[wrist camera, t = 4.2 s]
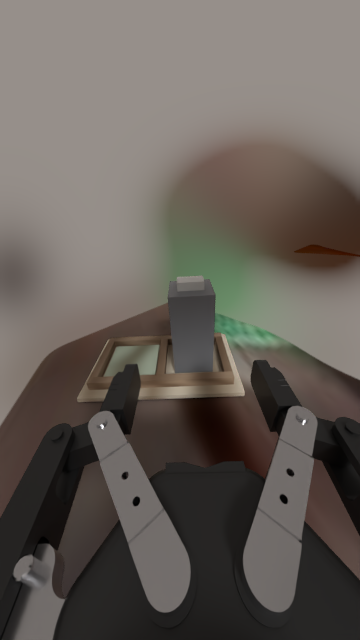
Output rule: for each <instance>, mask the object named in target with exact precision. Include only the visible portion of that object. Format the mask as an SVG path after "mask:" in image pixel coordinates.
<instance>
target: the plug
mask: <svg viewBox="0 0 360 640" xmlns="http://www.w3.org/2000/svg"><path fill="white" fill-rule="evenodd" d="M168 305H169V315H170V326H171V336H172V346H173V357H174V367H175V373H193V372H213V350H214V322H215V293H214V290H213V287H212V285H211V282H210V280H209V279H206V280H204V279H203V276H191V277H190V276H189V277H177V281H170V285H169V292H168Z"/></svg>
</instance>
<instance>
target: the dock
mask: <svg viewBox="0 0 360 640" xmlns="http://www.w3.org/2000/svg"><path fill="white" fill-rule="evenodd" d="M126 364H137V365H138V369H139V374H140V379H141V388H140V392H139V397H138V400H149V399H175V398H202V397H228V396H244V395H245V391H244V388H243V386H242V383H241V380H240V377H239V374H238V371H237V368H236V365H235V362H234V359H233V357H232V354H231V351H230V348H229V345H228V342H227V339H226V336H225V334H221V333H214V350H213V372H193V373H175V367H174V357H173V346H172V336H171V335H162V336H141V337H120V338H110V339H109V340H108V341H107V343H106V345H105V347H104V349H103V350H102V352H101V354H100V356H99V358H98V360H97V362H96V364H95V365H94V367H93V369H92V371H91V373H90V375H89V377H88V379H87V381H86V382H85V384H84V386H83V388H82V390H81V392H80V394H79V396H78V397H77V401H78V402H96V401H104V399H105V397H106V394H107V392H108V389H109V386H110V384H111V381H112V379H113V377H114V376H115V375H116V374H117V373H118V372H123V370H124V368H125V365H126Z"/></svg>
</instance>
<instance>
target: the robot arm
mask: <svg viewBox="0 0 360 640" xmlns="http://www.w3.org/2000/svg"><path fill="white" fill-rule="evenodd" d="M251 384H252V387H253V390H254V392H255V395H256V397H257V400H258V402H259V405H260V407H261V410H262V412H263V415H264V417H265V420H266V422H267V425H268V427H269V429H270V432H277V433H278V435H279V438H278V441H277V444H276V447H275V450H274V453H273V456H272V459H271V462H270V465H269V468H268V471H267V474H266V477H265V479H264V478H263V477H262V476H260V475H259V474H258V473H256V472H254V471H252V470H250V469H247V468H245V466H244V462H243V461H232V462H222V463H219V464H216V465H213V466H210V467H207V468H203V467H199V466H196V465H192V464H189V463H185V462H183V463H166V469H164V470H162V471H160V472H158V473H156V474H155V475H153V476H152V477H151V478H150V479H149V480H148V478H147V476H146V474H145V472H144V470H143V468H142V466H141V464H140V462H139V461H138V459H137V457H136V455H135V453H134V451H133V449H132V447H131V445H130V443H129V442H127V440H126V438H125V436H124V435H125V434H130V433H131V428H132V424H133V419H134V415H135V410H136V406H137V401H138V397H139V392H140V388H141V379H140V374H139V369H138V365H137V364H126V365H125V368H124V370H123V372H118V373H117V374H116V375H115V376H114V377H113V379H112V381H111V384H110V386H109V389H108V392H107V394H106V397H105V399H104V402H103V404H102V407H101V409H100V411H99V413H97V414H96V415H94V416H93V417H92V418H91V420H90V421H89V422H88V423H85V424H82V425H79V426H76V427H73V428H72V427H71V426H70V425H69V424H66V423H63V424H59V425H57V426H55V427H53V428H52V429H50V430H49V431H48V432H47V433H46V435H45V436H44V438H43V440H42V442H41V443H40V445H39V447H38V449H37V451H36V453H35V455H34V457H33V458H32V460H31V462H30V464H29V466H28V468H27V470H26V471H25V473H24V475H23V477H22V479H21V481H20V483H19V484H18V486H17V488H16V490H15V492H14V494H13V496H12V497H11V499H10V501H9V503H8V505H7V507H6V509H5V511H4V512H3V514H2V516H1V518H0V640H360V580H359V579H358V578H357V577H356V575H355V574H354V573H353V572H352V571H351V570H350V569H349V568H348V567H347V566H346V565H345V564H344V563H343V562H342V560H341V559H340V558H339V557H338V556H337V555H336V554H335V553H334V552H333V551H332V550H331V549H330V548H329V547H328V545H327V544H326V543H325V542H324V541H323V540H322V539H321V538H320V537H319V536H318V535H317V534H316V533H315V532H314V530H313V529H312V528H311V527H310V526H309V525H308V524H307V523H306V522H305V521H304V519H305V513H306V507H307V500H308V494H309V488H310V482H311V476H312V469H313V463H314V458H315V459H318V460H321V461H322V462H323V464H324V466H325V468H326V470H327V472H328V474H329V476H330V478H331V480H332V482H333V484H334V486H335V488H336V490H337V492H338V494H339V496H340V498H341V500H342V502H343V504H344V506H345V508H346V510H347V512H348V514H349V516H350V518H351V520H352V522H353V524H354V526H355V528H356V530H357V531H358V533H359V535H360V424H359V423H358V422H356V421H354V420H352V419H350V418H346V417H340V418H337V419H336V421H335V422H332V421H328V420H324V419H320V418H317V417H315V416H314V414H313V413H312V412H310V411H309V410H308V409H306V408H304V407H302V406H301V404H300V402H299V401H298V399H297V398H296V396H295V394H294V393H293V391H292V389H291V388H290V386H289V384H288V383H287V381H286V380H285V378H284V376H283V375H282V373H281V372H280V371H278V370H277V369H276V368H275V367H274V368H271V367H270V365H269V364H268V362H267V361H266V360H254V362H253V367H252V373H251ZM98 460H99V462H100V466H101V468H102V471H103V474H104V477H105V480H106V482H107V485H108V488H109V491H110V494H111V496H112V499H113V502H114V505H115V508H116V510H117V513H118V516H119V521H118V522H117V524H116V525H115V526H114V528H113V529H112V531H111V532H110V533H109V535H108V536H107V538H106V539H105V540H104V542H103V543H102V545H101V546H100V547H99V549H98V550H97V552H96V553H95V554H94V556H93V557H92V559H91V560H90V561H89V563H88V564H87V566H86V567H85V568H84V570H83V571H82V573H81V574H80V575H79V577H78V578H77V580H76V581H75V583H74V584H73V586H72V587H71V589H70V591H69V593H68V595H67V597H66V599H65V598H64V595H63V592H62V580H63V574H64V566H65V565H64V559H63V556H62V555H61V554H60V553H59V552H58V551H57V550H58V547H59V544H60V541H61V538H62V535H63V532H64V528H65V525H66V522H67V519H68V516H69V513H70V510H71V507H72V503H73V500H74V497H75V494H76V491H77V488H78V485H79V482H80V478H81V475H82V472H83V469H84V466H85V465H87V464H90V463H93V462H95V461H98Z"/></svg>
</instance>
